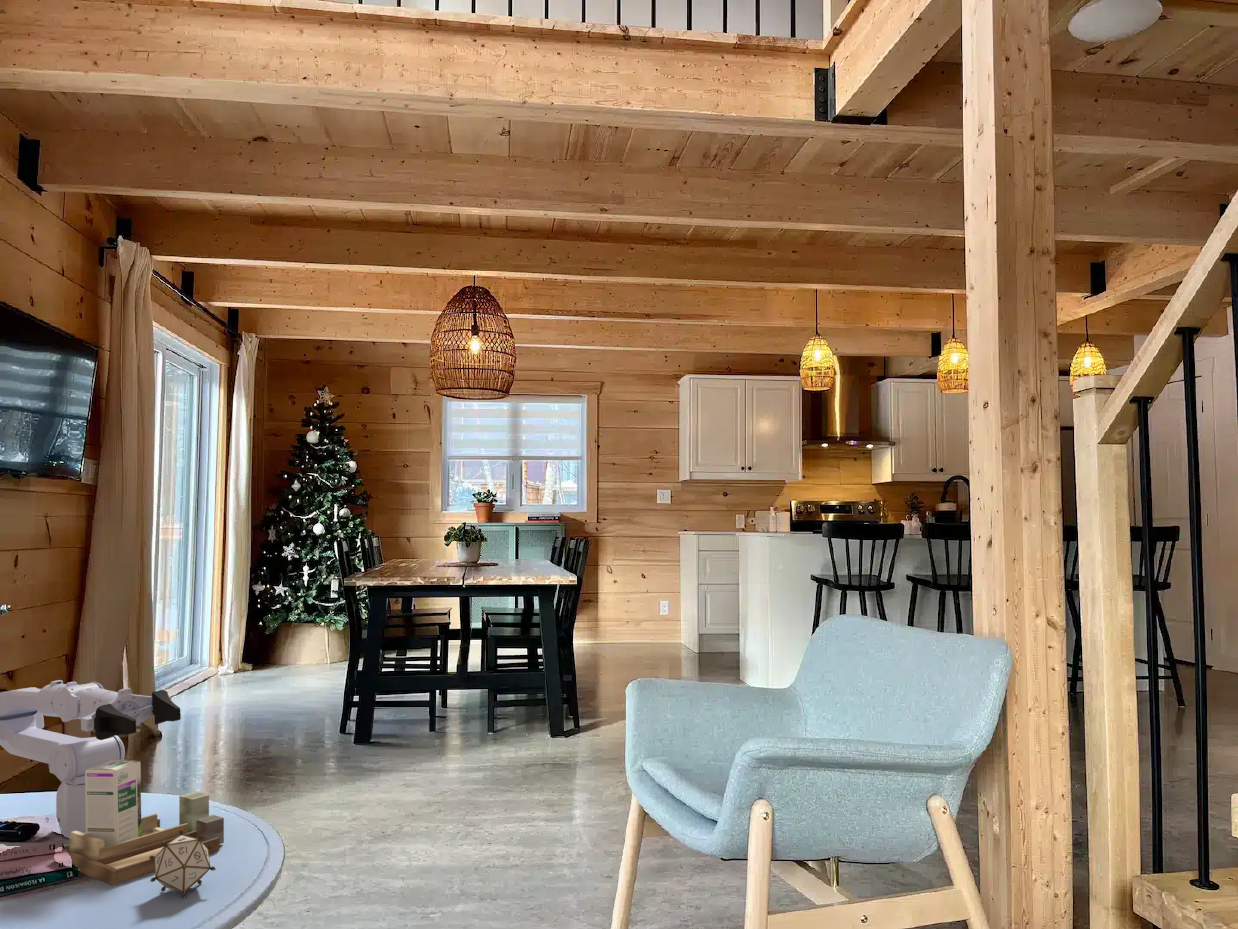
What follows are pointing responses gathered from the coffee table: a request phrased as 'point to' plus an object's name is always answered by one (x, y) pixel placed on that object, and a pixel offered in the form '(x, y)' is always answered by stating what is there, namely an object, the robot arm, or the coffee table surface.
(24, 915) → the coffee table surface
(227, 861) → the coffee table surface
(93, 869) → the lane board
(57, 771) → the robot arm
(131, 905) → the coffee table surface
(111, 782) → the syrup box
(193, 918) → the coffee table surface
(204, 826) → the wooden bar
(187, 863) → the game die
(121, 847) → the wooden slotted tray
